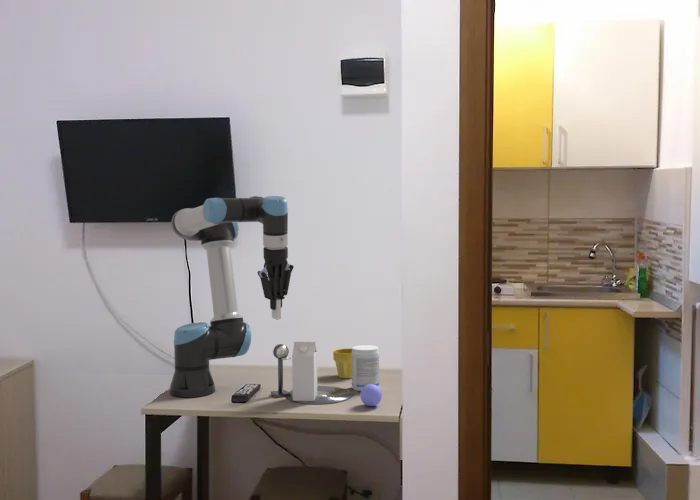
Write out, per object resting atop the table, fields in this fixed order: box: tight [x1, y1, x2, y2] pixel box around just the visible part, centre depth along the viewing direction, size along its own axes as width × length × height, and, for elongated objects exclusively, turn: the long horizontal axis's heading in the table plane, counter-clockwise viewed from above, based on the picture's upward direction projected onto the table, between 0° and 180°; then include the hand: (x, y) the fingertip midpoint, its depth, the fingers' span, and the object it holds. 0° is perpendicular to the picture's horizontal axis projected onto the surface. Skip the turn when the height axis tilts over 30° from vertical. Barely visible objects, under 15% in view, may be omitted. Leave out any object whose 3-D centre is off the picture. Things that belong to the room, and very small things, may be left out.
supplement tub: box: [351, 344, 380, 392], centre depth 253 cm, size 10×10×15 cm
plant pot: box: [332, 347, 352, 379], centre depth 271 cm, size 10×10×10 cm
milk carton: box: [291, 341, 318, 402], centre depth 239 cm, size 7×7×19 cm
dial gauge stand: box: [270, 343, 292, 399], centre depth 244 cm, size 5×6×18 cm
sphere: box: [359, 384, 383, 407], centre depth 232 cm, size 7×7×7 cm
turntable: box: [286, 385, 353, 405], centre depth 245 cm, size 22×22×1 cm
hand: (276, 318), depth 230 cm, fingers closed
